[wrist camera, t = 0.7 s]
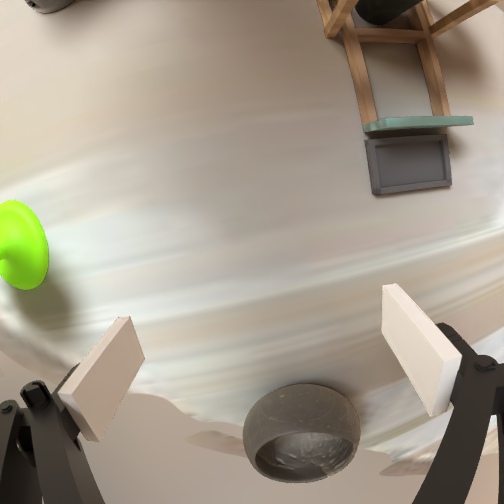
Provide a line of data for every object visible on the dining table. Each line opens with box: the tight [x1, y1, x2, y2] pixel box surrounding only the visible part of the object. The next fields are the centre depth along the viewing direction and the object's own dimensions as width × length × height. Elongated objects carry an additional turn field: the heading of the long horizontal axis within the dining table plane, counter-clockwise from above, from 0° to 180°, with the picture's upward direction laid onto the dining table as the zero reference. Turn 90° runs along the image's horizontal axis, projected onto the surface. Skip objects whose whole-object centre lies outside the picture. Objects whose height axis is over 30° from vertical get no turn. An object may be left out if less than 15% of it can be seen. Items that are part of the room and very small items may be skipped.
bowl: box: [243, 384, 360, 483], centre depth 43 cm, size 18×18×13 cm
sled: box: [331, 0, 474, 132], centre depth 28 cm, size 24×12×8 cm, turn 11°
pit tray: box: [364, 134, 452, 195], centre depth 36 cm, size 7×12×2 cm, turn 101°
